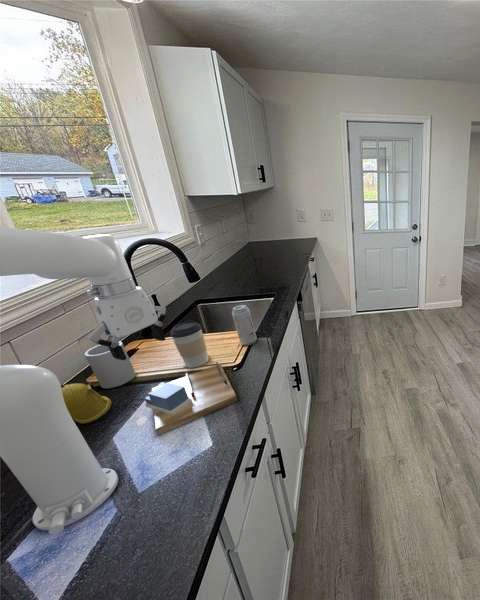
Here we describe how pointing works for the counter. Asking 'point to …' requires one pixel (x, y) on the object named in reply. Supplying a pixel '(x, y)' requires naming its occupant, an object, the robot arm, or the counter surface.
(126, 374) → the cup
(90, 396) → the yellow rounded dome part
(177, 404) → the blue and white block
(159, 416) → the wooden base
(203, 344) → the coffee cup
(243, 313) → the energy drink can
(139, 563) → the counter surface
